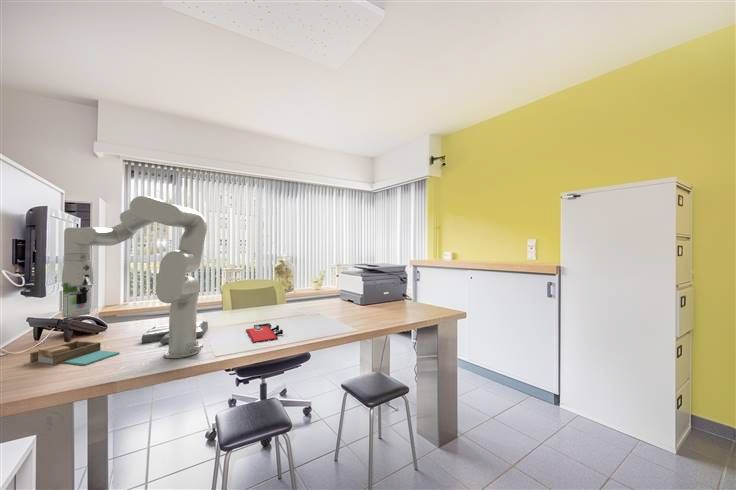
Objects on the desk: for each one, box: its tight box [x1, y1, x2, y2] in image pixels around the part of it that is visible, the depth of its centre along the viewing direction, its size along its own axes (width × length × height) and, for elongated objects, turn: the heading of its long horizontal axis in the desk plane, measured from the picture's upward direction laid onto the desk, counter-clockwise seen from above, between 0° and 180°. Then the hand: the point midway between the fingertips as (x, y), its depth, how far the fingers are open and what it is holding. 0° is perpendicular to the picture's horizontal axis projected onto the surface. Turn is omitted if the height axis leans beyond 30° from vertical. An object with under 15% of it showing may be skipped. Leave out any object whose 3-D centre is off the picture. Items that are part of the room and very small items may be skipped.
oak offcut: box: [38, 344, 70, 358], centre depth 110 cm, size 8×5×2 cm
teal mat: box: [63, 350, 120, 367], centre depth 112 cm, size 10×12×1 cm
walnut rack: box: [29, 340, 101, 366], centre depth 114 cm, size 12×15×4 cm
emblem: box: [141, 320, 209, 345], centre depth 142 cm, size 28×5×28 cm
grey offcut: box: [37, 356, 53, 365], centre depth 110 cm, size 8×6×2 cm
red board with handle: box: [245, 322, 284, 344], centre depth 149 cm, size 30×3×15 cm
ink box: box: [62, 283, 91, 319], centre depth 117 cm, size 7×4×13 cm, turn 161°
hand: (76, 302), depth 117 cm, fingers closed on ink box, 4 cm apart
